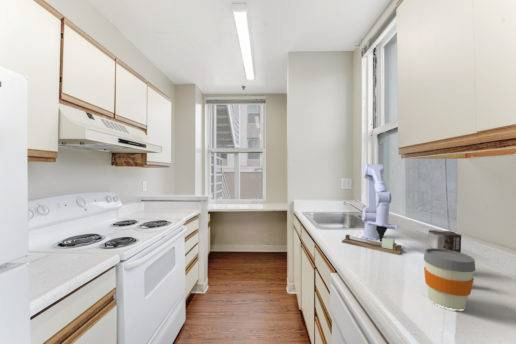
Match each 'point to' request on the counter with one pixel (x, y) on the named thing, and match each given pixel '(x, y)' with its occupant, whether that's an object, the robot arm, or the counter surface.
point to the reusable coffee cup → (448, 277)
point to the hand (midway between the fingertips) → (381, 241)
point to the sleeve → (388, 242)
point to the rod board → (372, 244)
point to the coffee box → (444, 240)
